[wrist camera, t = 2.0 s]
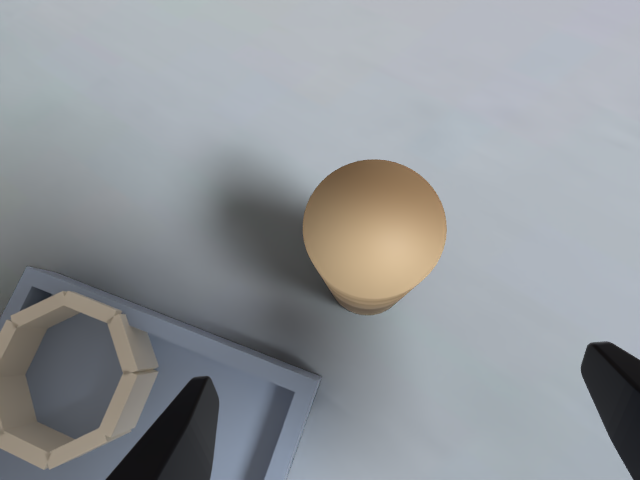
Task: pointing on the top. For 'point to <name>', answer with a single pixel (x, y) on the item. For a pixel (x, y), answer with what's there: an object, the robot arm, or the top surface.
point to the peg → (373, 233)
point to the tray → (130, 386)
